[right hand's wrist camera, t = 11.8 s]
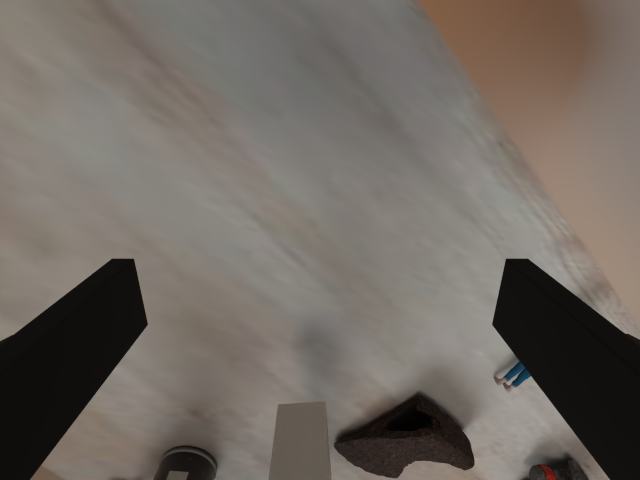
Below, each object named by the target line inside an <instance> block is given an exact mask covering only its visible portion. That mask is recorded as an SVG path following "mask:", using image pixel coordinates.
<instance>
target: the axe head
mask: <svg viewBox="0 0 640 480" xmlns="http://www.w3.org/2000/svg"><path fill="white" fill-rule="evenodd" d="M334 447H335V449H336V450H337V451H338V453H340V454H341V455H342V456H344V457H345V458H346V459H347V461H349V462H351V463H352V464H353V465H354V466H357V467H360V468H362V469H363V470H365V471H366V472H370V473H373V474H376V475H379V476H386V477H389V478H398V477H399V476H400V474H401V473H402V472H403V468H404V467H405V466H408V464H411V463H412V462H415V461H432V462H439V463H447V464H451V465H452V466H455V467H457V468H461V469H463V470H468V469H471V468H472V467H473V466H474V456H473V452H472V449H471V444H470V441H469V439H468V438H467V436H466V435H465V434H464V432H463V431H462V430H461V428H460V426H458V425H457V424H456V423H455V422H454V421H453V419H452V418H450V417H449V416H448V415H447V414H444V413H442V412H441V411H440V409H439V408H438V406H437V405H435V404H433V403H431V402H429V401H428V400H427V399H425V398H424V397H423V396H419V395H417V396H416V398H414V399H412V400H411V401H409V402H407V403H405V404H404V405H402V406H401V407H400V408H398V409H397V410H395V411H394V412H393V413H391V414H390V415H389V416H387V417H386V418H384V419H382V420H380V421H379V422H378V423H376V424H375V425H373V426H372V427H369V428H367V429H364V430H362V431H361V432H359V433H357V434H353V435H349V436H347V437H344V438H343V439H342V440H340V441H337V442H335V443H334Z"/></svg>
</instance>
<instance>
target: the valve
mask: <svg viewBox="0 0 640 480" xmlns="http://www.w3.org/2000/svg"><path fill="white" fill-rule="evenodd" d="M568 464H569V470H568V472H566V473H565V472H561V471H557V470H554V469H550V467H548V466H544V465H540V464H539V465H537V466H535V465H534V466H532V467H531V469H530V471H529V477H530V480H589V479H588V477H587V476H586V474H585V473H584V471H583V470H582V468H581V467H580V466H579V464H578V463H577V462H576V461H575V460H574V459H570V460H568Z"/></svg>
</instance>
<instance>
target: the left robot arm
mask: <svg viewBox="0 0 640 480" xmlns="http://www.w3.org/2000/svg"><path fill="white" fill-rule="evenodd" d="M216 472H217V465H216V463H215V461H214V459H213V458H212V457H211V456H210V455H209V454H207V453H206V452H204V451H202V450H200V449H197V448H193V447H178V448H174V449H171V450H169V451H168V452H167V453H165V454H164V456H163V457H162V459H161V462H160V464H159V468H158V470H157V472H156V475H155V477H154V479H153V480H214V478H215V476H216Z"/></svg>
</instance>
